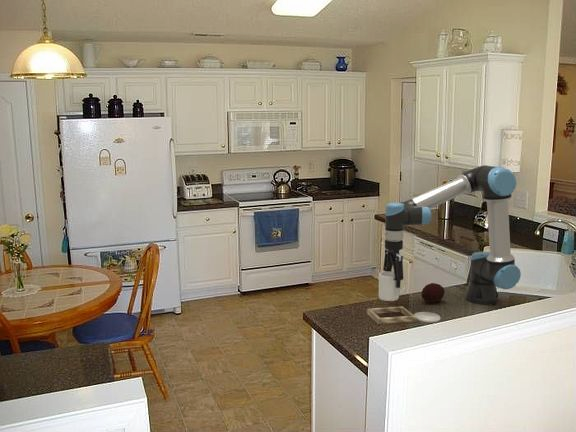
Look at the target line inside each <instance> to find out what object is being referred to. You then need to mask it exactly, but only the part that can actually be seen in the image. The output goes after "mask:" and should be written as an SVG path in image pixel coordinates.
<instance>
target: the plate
mask: <svg viewBox="0 0 576 432" xmlns="http://www.w3.org/2000/svg"><path fill="white" fill-rule="evenodd" d="M413 315H415V316H416V321H419V322H423V323H430V324H431V323H437V322H440V321H441V316H440V315H439V314H437V313H434V312H429V311H419V312H415V313H413Z"/></svg>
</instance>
